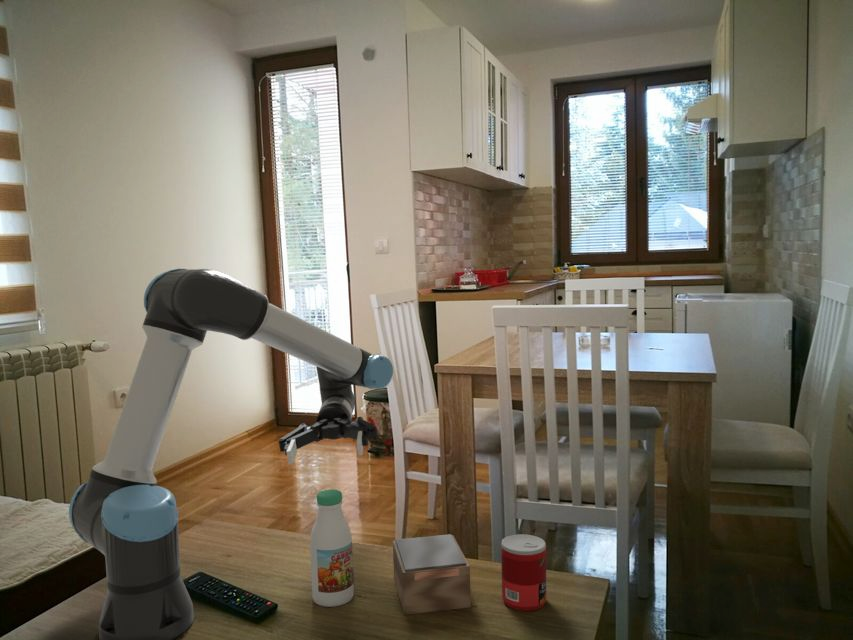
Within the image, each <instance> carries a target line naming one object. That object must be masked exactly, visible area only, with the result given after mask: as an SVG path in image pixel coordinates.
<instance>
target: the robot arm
mask: <svg viewBox="0 0 853 640" xmlns="http://www.w3.org/2000/svg"><path fill="white" fill-rule="evenodd" d="M143 307H144V310H145V312H146V314H145V317H144V320H143V323H142V330H143V332H144V334H145V335H146V341H145V343H144V345H143V346H144V347H143V349H142V352H141V355H140V357H139V360H138V362H137V366H136V369H135V372H134V374H133V377H132V381H131V383H130V387H129V389H128V393H127V394H126V397H125V401H124V403H123V405H122V410H121V411H120V415H119V417H118V421H117V423H116V426H115V429H114V432H113V435H112V437H111V440H110V444H109V446H108V449H107V452H106V454H105V457H104V459H103V460H102V461H100V462H99V463H97V464H95V465H93V466H92V468H91V471H90V473H89V476H88V477H87V478H88V479H87V480H86V481H85V482H84V483H82V484H80V486H79V487H78V488H77V489H76V490H75V492H74V493H73V495H72V496H71V497H72V498H71V499H70V503H69V507H68V518H69V522H70V525H71V526H72V529H74V532H75V533H76V534H77V535H78V537H79V538H80V539H81V540H82V541H84V542H85V543H88V544H90V546H92V547H94V548H95V549H96V550H97V551H99V552H100V553H101V554H102V555H104V558H105V571H106V572H105V573H106V583H107V587H106V588H107V590H106V591H107V592H106V595H105V596H106V597H105V599H104V603H103V606H102V611H101V614H100V617H99V621H98V638H99V639H98V640H174V639H176V638H177V637H179V636H181V635H182V634H184V633H185V632H186V631H187V630H188V629H189V628H190V627H191V625H192V624H193V622H194V618H195V615H194V605H193V601H192V598H191V596H190V593H189V592H188V590H187V588H186V585H185V583H184V580H183V578H182V575H181V560H180V539H179V536H180V535H179V509H178V507H177V502H176V498H175V496H174V494H173V493H172V491H170V490H169V489H167V488H166V487H163V486H160V485H157V482H158V481H157V478H156V476H155V474H154V472H153V469H154V468H153V467H154V464H155V461H156V459H157V455H158V453H159V449H160V446H161V443H162V440H163V438H164V434H165V432H166V430H167V426H168V423H169V420H170V417H171V414H172V410H173V408H174V405H175V401H176V398H177V396H178V393H179V391H180V388H181V384H182V382H183V378H184V375H185V372H186V370H187V367H188V363H189V360H190V357H191V355H192V351H193V350H195V349H197V348H198V347H200V346H202V345H203V343H204V340H205V338H206V336H207V332H214V333H222V334H226V335H229V336H233V337H235V338H237V339H240V340H242V341H247V340H250V339H253V340H256V341H258V342H260V343H261V344H265V345H266V346H268V347H271V348H273V349H276V350H279V351H280V352H283V353H285V354H288V355H290V356H291V357H294V358H297V359H298V360H300V361H303V362H306V363H307V364H311V365H312V366H315V367H316V374H317V378H318V384H319V394H320V399H321V406H320V409H319V411H318V413H317V417H316V419H315V423H313V424H312V425H310V426H308V425H306V423H301V424H300V425H299V426H298V427H297V428H295V429H294V430H291V431H290V432H289V433H287V434H285V435H284V436H282V437H281V438H279V439H277V440H278V446H279V451H280V452H282V453H284V454H285V456H286V458H287V463H288V466H289V465H293V463H294V461H295V458H296V456H297V453H298V450H299V449H301V448H302V447H305V446H307V445H309V444H311V443H314V442H315V443H318V442H320V441H323V440H331V441H332V440H339V439H342V438H343V439H348V438H350V439H353V440H356V443H355V444H356V448H357V449H356V450H357V456H363V451H364V447H367V446H368V445H369V442H370V440H372V441H377V440H379V433H378V427H377V426H375V425H373V424H372V423H370V422H368V421H367V420H364V417H363V416H357V418H356V419H355V420H354V421H352V418H353V413H354V409H355V406H356V398H355V395H354V394H355V393H354V392H353V388H352V386H357V387H362V388H365V389H366V388H368V390H374V389H375V390H382V389H384V388H386V387H387V386H389V384H390V382H391V381H392V379H393V376H394V366H393V364H392V361H391V360H390V359H389V358H388V357H386V356H385V355H380V354H379V353H374V354H373V353H371V352H369V351H367V350H364V349H363V348H360V347H358V346H357V345H354V344H352V343H350V342H348V341H346V340H344V339H342V338H340V337H338V336H336V335H335V334H332V333H331V332H328V331H326V330H324V329H322V328H320V327H318V326H316V325H314V324H312V323H310V322H308V321H306V320H304V319H303V318H300V317H299V316H296V315H294V314H292V313H290V312H288V311H287V310H284V309H282V308H280V307H278V306H276V305H274V304H273V303H270V301H269V298H268V296H267V295H266V294H264V293H263V292H260V291H258V290H256V289H254V288H253V287H250V286H249V285H246V284H245V283H243V282H242V281H240V280H238V279H235V278H234V277H231V276H230V275H228V274H225V273H223V272H220V271H218V270H216V269H208V268H197V269H196V268H195V269H194V268H193V269H192V268H191V269H190V268H189V269H187V268H175V269H169V270H167V271H164V272H162V273H160V274H158V275H156V276H155V277H154V278H153V279H152V280H151V281H150V282H149V283H148V284H147V286H146V289H145V292H144V294H143Z"/></svg>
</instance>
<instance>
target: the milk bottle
mask: <svg viewBox="0 0 853 640" xmlns="http://www.w3.org/2000/svg"><path fill="white" fill-rule="evenodd" d="M316 503H317V504H316V506H317V507H318V511H317V515H316V519H315V521H314V523H313V526H312V529H311V533H310V547H309V548H310V573H311V574H310V575H311V576H310V577H311V597H312V598H311V599H312V600H313V602H314V603H315V604H317V605H318V606H319V607H326V608H329V607H330V608H331V607H338V606H339V607H340V606H343V605H345V604H348V603H349V602H350V601H351V600H352V599H353V596H354V594H355V580H354V579H355V578H354V556H353V555H354V554H353V553H354V552H353V539H352V533H351V529H350V525H349V523H348V521H347V519H346V517H345V515H344V513H343V510H342V504H343V493H342V491H341V490H338V489H324V490H320V491H318V492H317V494H316Z"/></svg>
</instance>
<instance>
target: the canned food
mask: <svg viewBox="0 0 853 640" xmlns="http://www.w3.org/2000/svg"><path fill="white" fill-rule="evenodd" d="M546 545H547V544H546V542H545V540H544V539H542V538H541V537H539V536H536V535H532V534H524V533H523V534H521V533H520V534H512V535H508V536H505V537H504V538H502V539H501V545H500V546H501V548H500V549H501V550H500V553H501V556H500V557H501V558H500V559H501V561H500V563H501V564H500V565H501V598H502V599H503V600H502V601H503V602H504V604H505V605H506V606H508V607H509V608H511V609H513V610H516V611H521V612H522V611H524V612H530V611H535V610H539V609H541V608H543V606H545V604H546V601H547V546H546Z"/></svg>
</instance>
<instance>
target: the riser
mask: <svg viewBox="0 0 853 640" xmlns="http://www.w3.org/2000/svg"><path fill="white" fill-rule="evenodd" d="M392 553H393V555H392V556H393V557H392V560H393V563H392V564H393V579H394V583H395V586H396V591H397V594H398V597H399V602H400V605H401V608H402V613H403V615H404V616H405V615H414V614H415V615H416V614H423V613H432V612H440V611H447V610H448V611H449V610H455V609H456V610H459V609H465V608H466V609H467V608H471V607H472V606H471V568H470V567H471V566H470V564H469V561H468V560H467V559H466V557H465V555H464V553H463V551H462V549H461V547H460V545H459V544H458V542H457V540H456V538H455V536H454V534H450V533H448V534H439V535H431V536H430V535H428V536H418V537H408V538H407V537H406V538H400V539H394V540H392Z"/></svg>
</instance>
